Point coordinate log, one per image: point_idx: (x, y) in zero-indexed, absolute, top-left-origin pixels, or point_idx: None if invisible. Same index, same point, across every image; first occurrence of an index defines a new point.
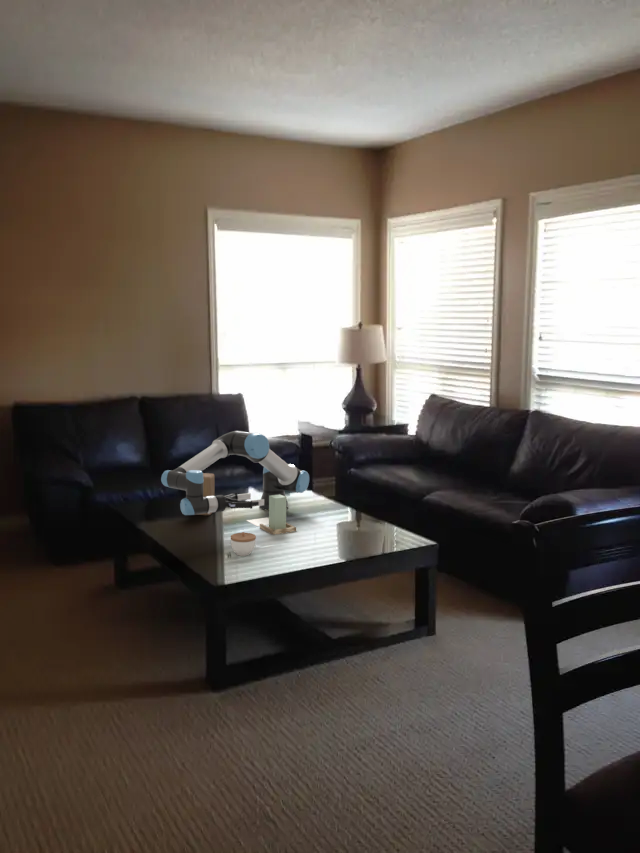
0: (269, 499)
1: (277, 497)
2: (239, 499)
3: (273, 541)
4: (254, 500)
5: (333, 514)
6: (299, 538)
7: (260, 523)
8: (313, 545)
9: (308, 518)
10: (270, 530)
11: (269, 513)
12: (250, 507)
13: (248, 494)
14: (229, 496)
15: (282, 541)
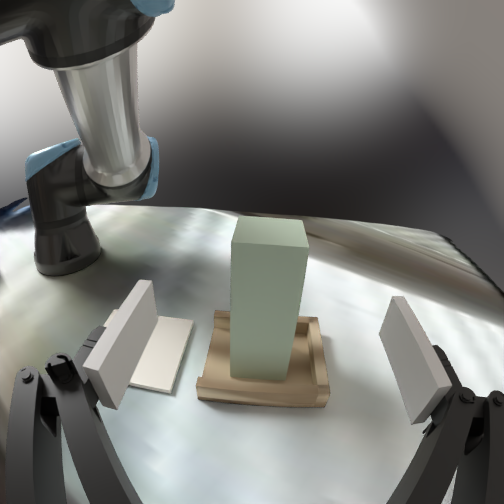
0: (236, 262)
1: (294, 237)
2: (119, 392)
3: (395, 431)
4: (435, 359)
5: (212, 227)
6: (381, 349)
7: (148, 360)
8: (449, 345)
9: (201, 258)
10: (303, 396)
11: (235, 326)
12: (482, 435)
13: (145, 298)
14: (40, 450)
15: (402, 403)
